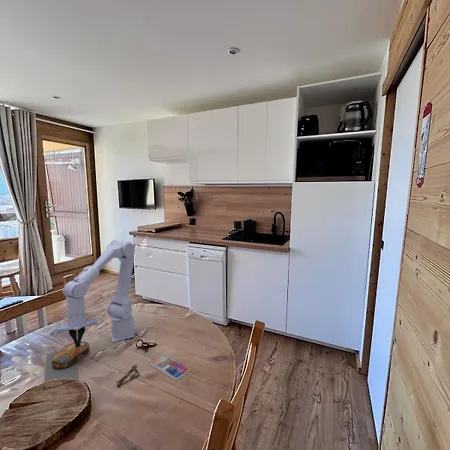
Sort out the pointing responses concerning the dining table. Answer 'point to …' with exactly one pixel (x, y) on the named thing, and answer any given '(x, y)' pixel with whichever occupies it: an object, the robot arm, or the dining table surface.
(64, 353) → the tin
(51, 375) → the mat
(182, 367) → the smartphone
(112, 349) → the dining table surface
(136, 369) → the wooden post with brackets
